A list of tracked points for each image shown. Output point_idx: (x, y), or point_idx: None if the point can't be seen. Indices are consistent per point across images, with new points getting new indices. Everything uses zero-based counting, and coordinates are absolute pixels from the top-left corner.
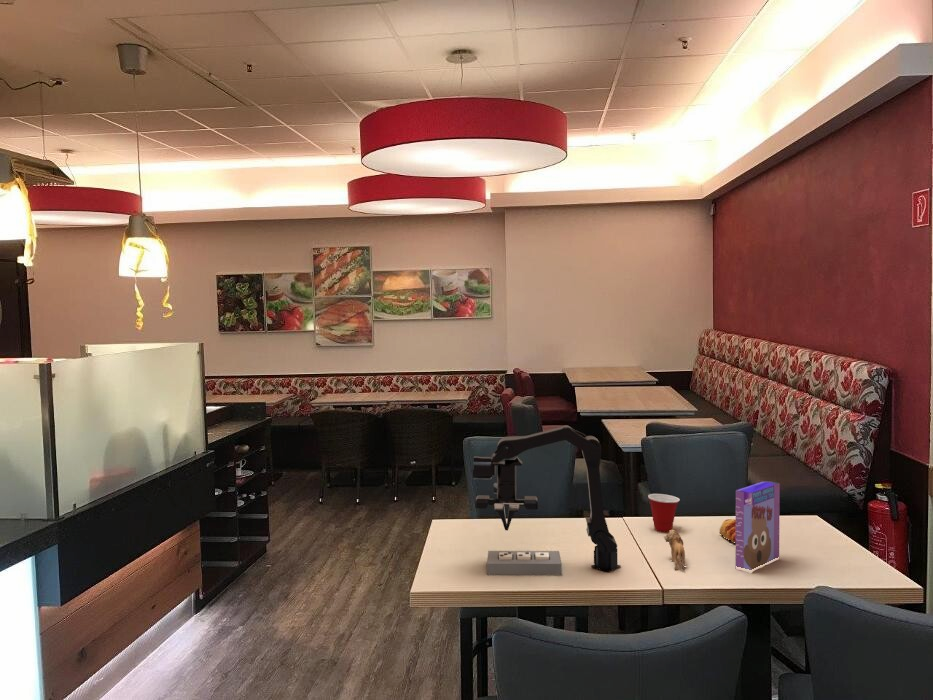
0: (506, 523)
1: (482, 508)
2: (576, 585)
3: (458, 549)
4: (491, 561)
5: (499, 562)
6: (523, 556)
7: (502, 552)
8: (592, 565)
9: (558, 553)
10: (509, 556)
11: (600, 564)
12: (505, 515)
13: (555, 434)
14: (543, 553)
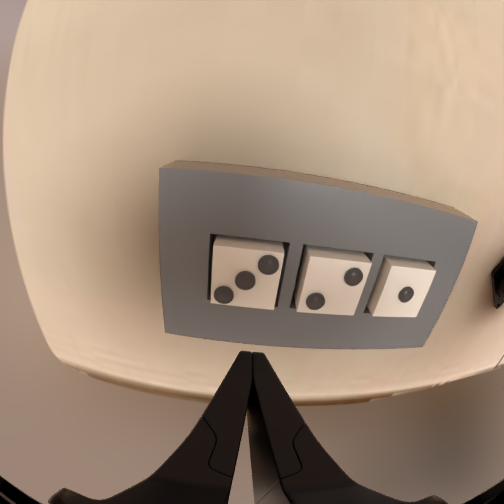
0: (249, 393)
1: (37, 501)
2: (403, 375)
3: (77, 26)
4: (180, 316)
5: (213, 329)
6: (324, 312)
7: (230, 249)
8: (496, 272)
9: (464, 251)
10: (260, 308)
11: (502, 297)
12: (237, 454)
13: None
14: (413, 290)
